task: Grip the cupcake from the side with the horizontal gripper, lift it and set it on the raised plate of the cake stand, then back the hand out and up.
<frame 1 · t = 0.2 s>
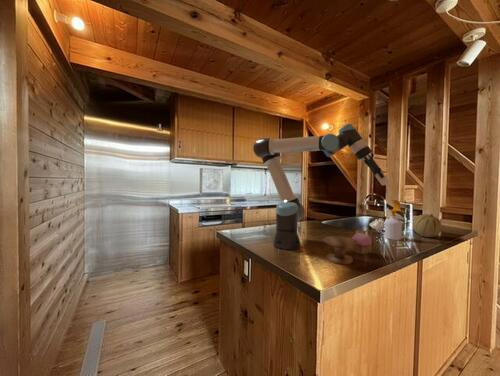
hand: (385, 184, 108), 34 cm above the worktop, tool tilted 35°, fingers open, 13 cm apart
cupcake: (361, 253, 107), on the worktop
cantaloupe: (426, 237, 140), on the worktop
soap bottle: (392, 238, 136), on the worktop
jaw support: (380, 231, 156), on the worktop
cake stand: (339, 259, 98), on the worktop
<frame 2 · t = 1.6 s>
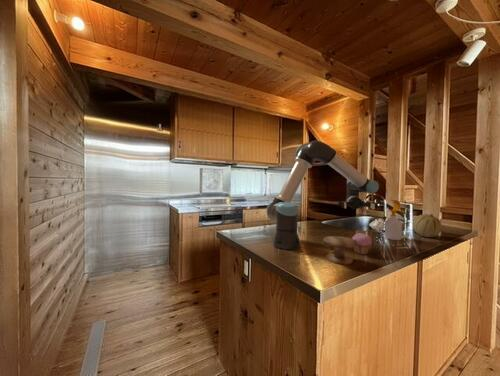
hand: (359, 206, 115), 22 cm above the worktop, tool horizontal, fingers open, 13 cm apart
nothing on the worktop moved.
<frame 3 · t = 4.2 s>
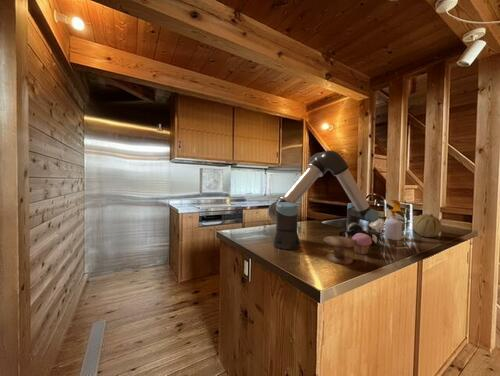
hand: (361, 238, 112), 6 cm above the worktop, tool horizontal, fingers open, 13 cm apart
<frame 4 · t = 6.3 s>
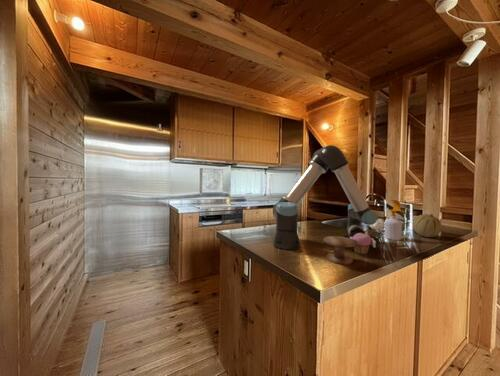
hand: (363, 243, 103), 6 cm above the worktop, tool horizontal, fingers closed on cupcake, 9 cm apart
cupcake: (361, 253, 107), on the worktop, touching gripper
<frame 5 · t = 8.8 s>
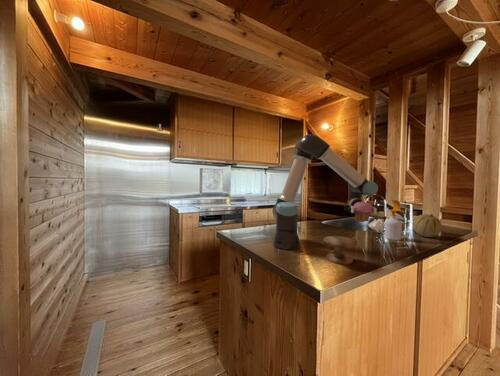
hand: (364, 210, 102), 22 cm above the worktop, tool horizontal, fingers closed on cupcake, 9 cm apart
cupcake: (362, 221, 107), point 16 cm above the worktop, touching gripper
when the fingers open (17 cm above the worktop, at t = 11.4 s): cupcake drops 1 cm, resting on cake stand.
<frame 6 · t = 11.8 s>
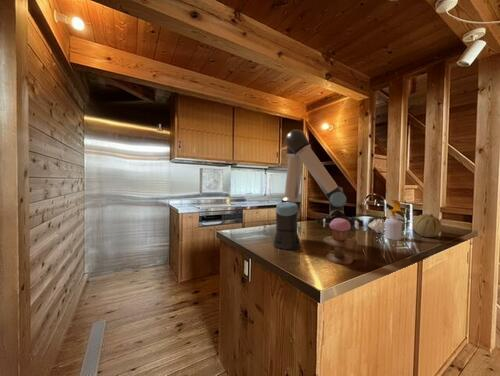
hand: (340, 225, 94), 16 cm above the worktop, tool horizontal, fingers open, 13 cm apart
cupcake: (340, 240, 98), point 9 cm above the worktop, touching cake stand
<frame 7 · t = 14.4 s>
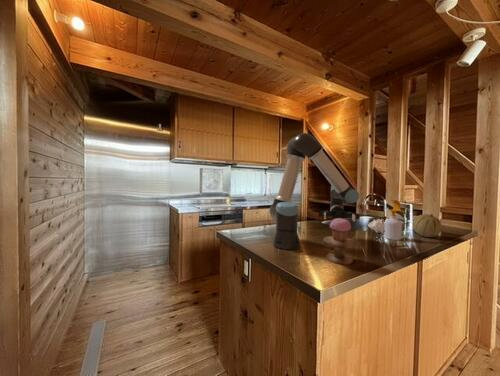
hand: (339, 217, 107), 18 cm above the worktop, tool horizontal, fingers open, 13 cm apart
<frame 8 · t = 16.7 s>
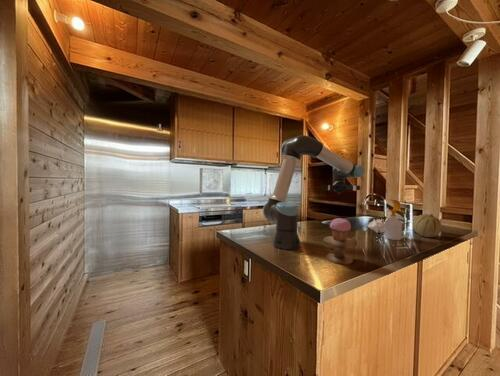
hand: (342, 187, 120), 32 cm above the worktop, tool horizontal, fingers open, 13 cm apart
at the end: cupcake inside the target area on the cake stand (0.2 cm from its centre), point 8.8 cm above the cake stand's base; cupcake tilted 0°; the gripper is holding nothing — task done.
